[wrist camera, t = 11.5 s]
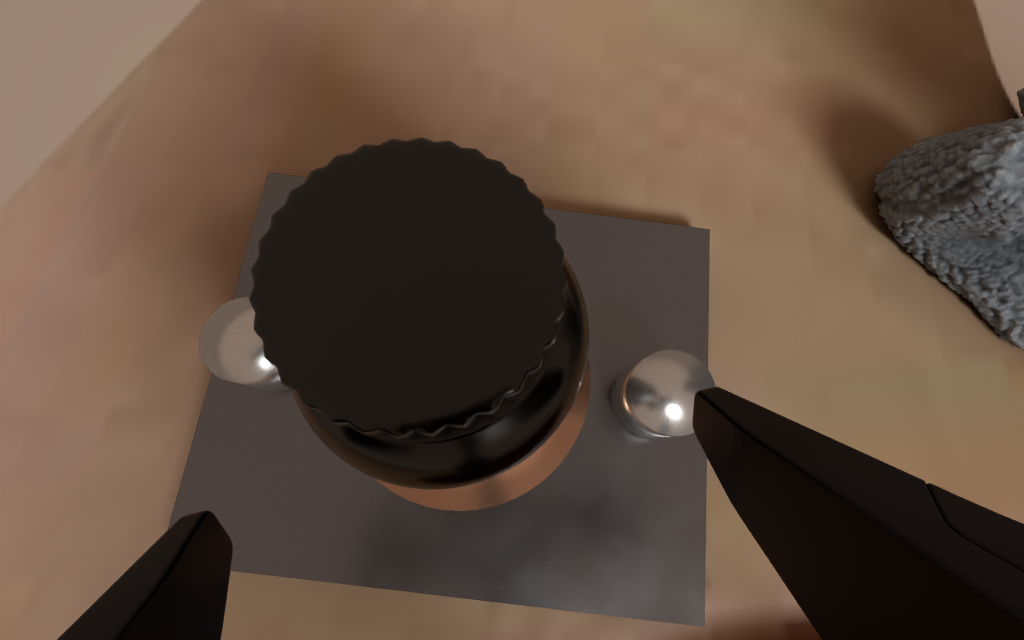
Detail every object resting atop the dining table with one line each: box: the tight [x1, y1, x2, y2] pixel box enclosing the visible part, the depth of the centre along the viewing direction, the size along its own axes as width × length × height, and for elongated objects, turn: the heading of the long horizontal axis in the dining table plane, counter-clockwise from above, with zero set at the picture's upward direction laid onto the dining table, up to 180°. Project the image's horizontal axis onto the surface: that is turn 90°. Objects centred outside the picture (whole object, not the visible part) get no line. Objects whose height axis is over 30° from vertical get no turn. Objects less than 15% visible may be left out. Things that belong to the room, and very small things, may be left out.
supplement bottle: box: [249, 138, 589, 490], centre depth 13 cm, size 7×7×12 cm
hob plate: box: [168, 173, 715, 627], centre depth 19 cm, size 20×16×4 cm
